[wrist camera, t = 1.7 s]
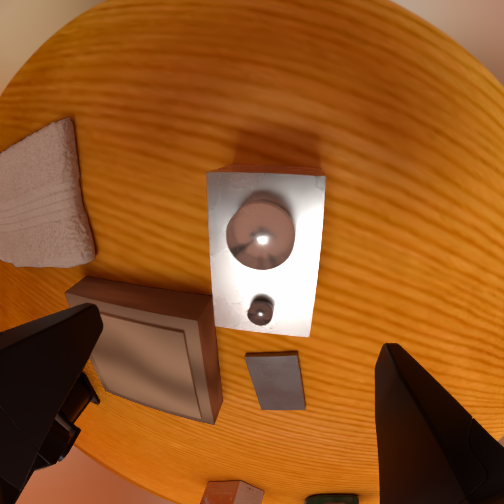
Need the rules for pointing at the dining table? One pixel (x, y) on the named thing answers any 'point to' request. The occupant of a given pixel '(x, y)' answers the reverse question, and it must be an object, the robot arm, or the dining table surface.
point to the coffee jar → (332, 499)
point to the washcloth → (43, 201)
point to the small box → (231, 493)
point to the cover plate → (277, 380)
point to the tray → (155, 347)
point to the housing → (265, 245)
